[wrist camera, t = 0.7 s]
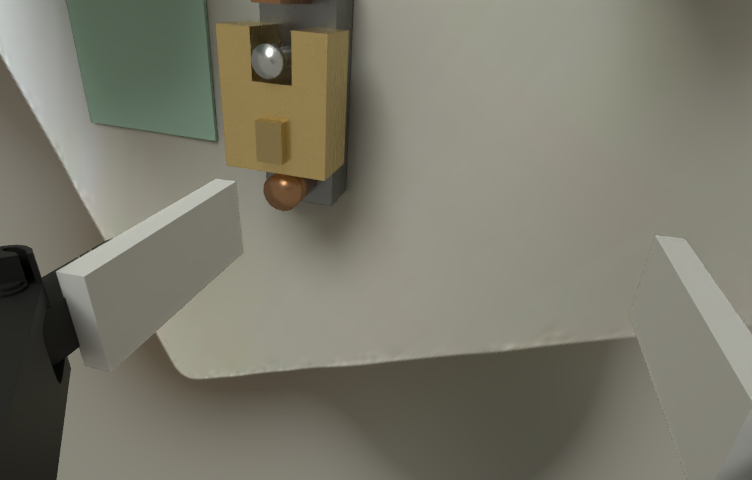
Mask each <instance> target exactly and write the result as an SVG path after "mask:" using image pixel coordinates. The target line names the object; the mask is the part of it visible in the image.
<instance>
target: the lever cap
mask: <svg viewBox="0 0 752 480" xmlns="http://www.w3.org/2000/svg"><path fill="white" fill-rule="evenodd" d="M216 36H217V49H218V61H219V74H220V86H221V99H222V112H223V124H224V137H225V150H226V162H227V165H228V166H234V167H241V168H247V169H253V170H259V171H265V172H272V173H278V174H284V175H290V176H297V177H303V178H309V179H315V180H321V181H325V180H326V179H327V178H329V177H330V176H331V175H332V174H333V173H334V172H335V171H336V170H337V169H338V168H339V167H341V166H342V165H343V164H344V152H345V125H346V98H347V71H348V45H349V30H340V29H329V28H319V27H315V28H307V29H299V30H291V53H292V74H285V73H282V74H281V75H280V76H278V77H275V78H272V79H265V78H262V77H260V76H259V75H258V74H257V73H256V72H255V70H254V69H253V66H252V63H251V56H252V52H253V50H254V49H255V48H256V47H257V46H258V45H261V44H266V43H271V44H274V45H276V46H278V47H279V24H276V23H265V22H254V21H240V22H226V23H216Z"/></svg>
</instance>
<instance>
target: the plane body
mask: <svg viewBox="0 0 752 480" xmlns="http://www.w3.org/2000/svg"><path fill="white" fill-rule="evenodd" d="M251 2H258V3H260V22H265V23H276V24H279V47H278V46H276V45H274V44H271V43H266V44H261V45H258V46H257V47H256V48H255V49H254V50H253V52H252V56H251V63H252V66H253V69H254V70H255V72H256V73H257V74H258V75H259V76H260V77H262V78H265V79H272V78H275V77H278V76H280V75H281V74H282V73H285V74H292V53H291V30H299V29H307V28H315V27H319V28H329V29H340V30H349V45H348V71H347V98H346V125H345V152H344V164H343V165H342V166H341V167H339V168H338V169H337V170H336V171H335V172H334V173H333V174H332V175H331V176H330V177H329V178H327V179H326V180H325V181H321V180H315V179H309V178H303V177H297V176H290V175H284V174H278V173H272V172H266V177H267V180H266V182H265V184H264V195H265V198H266V200H267V201H268V203H269V204H270V205H271V206H273V207H274V208H276V209H278V210H281V211H287V210H291V209H292V208H294V207H295V206H296V205H297V204H298V203H299V202H300V201H304V202H310V203H315V204H321V205H327V206H332V205H333V204H334V203H335V202H336V201H337V200H338V198H339V197H340V196H341V195H342V194H343V193H344V192H345V191H346V177H347V152H348V127H349V102H350V77H351V53H352V28H353V3H354V0H251Z"/></svg>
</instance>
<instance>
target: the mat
mask: <svg viewBox="0 0 752 480" xmlns="http://www.w3.org/2000/svg"><path fill="white" fill-rule="evenodd" d="M66 2H67V7H68V12H69V17H70V22H71V27H72V32H73V37H74V41H75V46H76V51H77V56H78V61H79V66H80V71H81V76H82V80H83V85H84V90H85V95H86V100H87V105H88V110H89V114H90V119H91V122H92V123H99V124H106V125H112V126H119V127H126V128H132V129H139V130H146V131H152V132H159V133H165V134H172V135H179V136H185V137H192V138H199V139H205V140H212V141H217V140H218V135H217V124H216V112H215V100H214V89H213V77H212V65H211V54H210V42H209V31H208V19H207V7H206V0H66Z"/></svg>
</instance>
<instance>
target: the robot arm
mask: <svg viewBox="0 0 752 480" xmlns="http://www.w3.org/2000/svg"><path fill="white" fill-rule="evenodd" d="M242 253H243V243H242V234H241V224H240V215H239V205H238V196H237V186H236V181H229V180H221V179H215V180H213V181H211V182H210V183H208V184H206V185H204V186H203V187H201V188H199V189H198V190H196V191H194V192H192V193H191V194H189V195H187V196H185V197H184V198H182V199H180V200H179V201H177V202H175V203H173V204H172V205H170V206H168V207H166V208H165V209H163V210H161V211H159V212H158V213H156V214H154V215H153V216H151V217H149V218H147V219H146V220H144V221H142V222H140V223H139V224H137V225H135V226H134V227H132V228H130V229H128V230H127V231H125V232H123V233H121V234H120V235H118V236H116V237H115V238H112V239H109V240H106V241H105V242H103V243H101V244H99V245H98V246H96V247H94V248H93V249H92V251H87V252H86V253H84V254H82V255H80V258H75V259H74V260H72V261H70V262H68V263H66V264H65V265H63V266H61V267H59V268H58V269H56V270H54V271H52V272H51V273H49V274H47V275H46V276H44V277H42V278H41V275H40V272H39V269H38V266H37V262H36V260H35V257H34V254H33V250H32V248H30V247H27V246H23V245H8V246H1V247H0V480H56V478H57V471H58V463H59V456H60V447H61V440H62V433H63V432H62V431H63V425H64V417H65V409H66V402H67V394H68V386H69V378H70V370H71V367H70V363H69V360H68V357H67V356H68V355H69V354H71V353H72V352H73V351H75V350H76V349H77V348H78V347H79V348H80V352H81V355H82V358H83V361H84V365H85V366H87V367H91V368H95V369H99V370H103V371H108V372H112V371H113V370H114V369H115V368H116V367H117V366H118V365H119V364H120V363H122V362H123V361H124V360H125V359H126V358H127V357H128V356H129V355H130V354H132V353H133V352H134V351H135V350H136V349H137V348H138V347H139V346H140V345H141V344H143V343H144V342H145V341H146V340H147V339H148V338H149V337H150V336H151V335H153V334H154V333H155V332H156V331H157V330H158V329H159V328H160V327H161V326H163V325H164V324H165V323H166V322H167V321H168V320H169V319H170V318H171V317H173V316H174V315H175V314H176V313H177V312H178V311H179V310H180V309H181V308H182V307H184V306H185V305H186V304H187V303H188V302H189V301H190V300H191V299H192V298H194V297H195V296H196V295H197V294H198V293H199V292H200V291H201V290H202V289H204V288H205V287H206V286H207V285H208V284H209V283H210V282H211V281H212V280H214V279H215V278H216V277H217V276H218V275H219V274H220V273H221V272H222V271H224V270H225V269H226V268H227V267H228V266H229V265H230V264H231V263H232V262H233V261H235V260H236V259H237V258H238V257H239V256H240V255H241V254H242ZM629 316H630V319H631V322H632V325H633V328H634V331H635V334H636V337H637V339H638V342H639V345H640V348H641V351H642V353H643V357H644V359H645V362H646V365H647V368H648V371H649V374H650V377H651V379H652V382H653V385H654V388H655V391H656V393H657V396H658V399H659V402H660V405H661V408H662V411H663V414H664V417H665V419H666V422H667V425H668V428H669V431H670V434H671V437H672V439H673V442H674V445H675V448H676V451H677V454H678V457H679V459H680V462H681V465H682V468H683V471H684V474H685V476H686V479H687V480H752V334H751V333H750V331H749V330H748V328H747V327H746V325H745V324H744V322H743V321H742V320H741V318H740V317H739V315H738V314H737V312H736V311H735V310H734V308H733V307H732V305H731V304H730V302H729V301H728V300H727V298H726V297H725V295H724V294H723V292H722V291H721V290H720V288H719V287H718V285H717V284H716V282H715V281H714V280H713V278H712V277H711V275H710V274H709V272H708V271H707V270H706V268H705V267H704V265H703V264H702V262H701V261H700V260H699V258H698V257H697V255H696V254H695V252H694V251H693V250H692V248H691V247H690V245H689V244H688V242H687V241H686V240H685V239H683V238H676V237H668V236H660V235H655V236H654V239H653V242H652V245H651V249H650V252H649V255H648V258H647V261H646V264H645V267H644V270H643V273H642V277H641V280H640V283H639V286H638V289H637V292H636V295H635V298H634V301H633V304H632V308H631V311H630V314H629Z"/></svg>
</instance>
